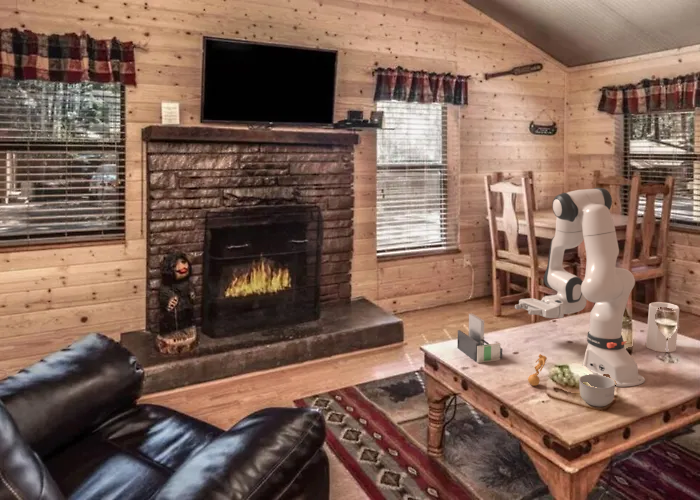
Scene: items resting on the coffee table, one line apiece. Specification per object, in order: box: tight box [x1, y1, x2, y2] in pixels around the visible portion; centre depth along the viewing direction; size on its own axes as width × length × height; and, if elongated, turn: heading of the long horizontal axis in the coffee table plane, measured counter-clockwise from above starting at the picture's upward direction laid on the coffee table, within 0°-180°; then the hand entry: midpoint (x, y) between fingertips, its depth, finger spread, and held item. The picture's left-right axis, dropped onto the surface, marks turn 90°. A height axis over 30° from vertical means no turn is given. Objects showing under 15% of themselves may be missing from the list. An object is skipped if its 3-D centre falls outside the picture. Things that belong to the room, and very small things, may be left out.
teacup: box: [578, 373, 616, 408], centre depth 175 cm, size 14×11×8 cm
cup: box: [645, 301, 680, 353], centre depth 218 cm, size 11×11×18 cm
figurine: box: [527, 353, 547, 387], centre depth 187 cm, size 8×6×12 cm
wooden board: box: [468, 313, 490, 346], centre depth 215 cm, size 14×2×14 cm, turn 16°
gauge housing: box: [457, 329, 503, 364], centre depth 218 cm, size 18×12×8 cm
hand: (522, 309), depth 220 cm, fingers open, 8 cm apart
